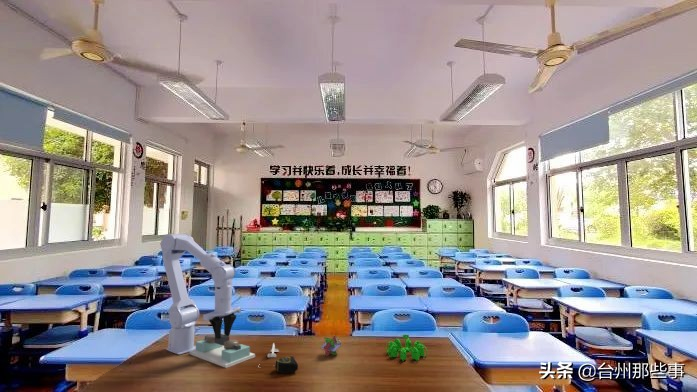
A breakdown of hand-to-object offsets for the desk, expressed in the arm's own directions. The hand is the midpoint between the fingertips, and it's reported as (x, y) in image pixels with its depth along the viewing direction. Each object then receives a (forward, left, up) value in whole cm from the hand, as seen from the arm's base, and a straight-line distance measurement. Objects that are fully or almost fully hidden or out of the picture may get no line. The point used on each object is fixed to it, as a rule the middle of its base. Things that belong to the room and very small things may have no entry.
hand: (222, 336), depth 129 cm
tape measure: (+29, +5, -7) cm, 30 cm away
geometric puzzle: (+32, +23, -7) cm, 40 cm away
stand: (0, 0, -7) cm, 7 cm away
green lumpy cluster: (+54, +39, -7) cm, 67 cm away
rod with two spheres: (0, 0, -3) cm, 3 cm away
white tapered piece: (+17, +8, -7) cm, 20 cm away
